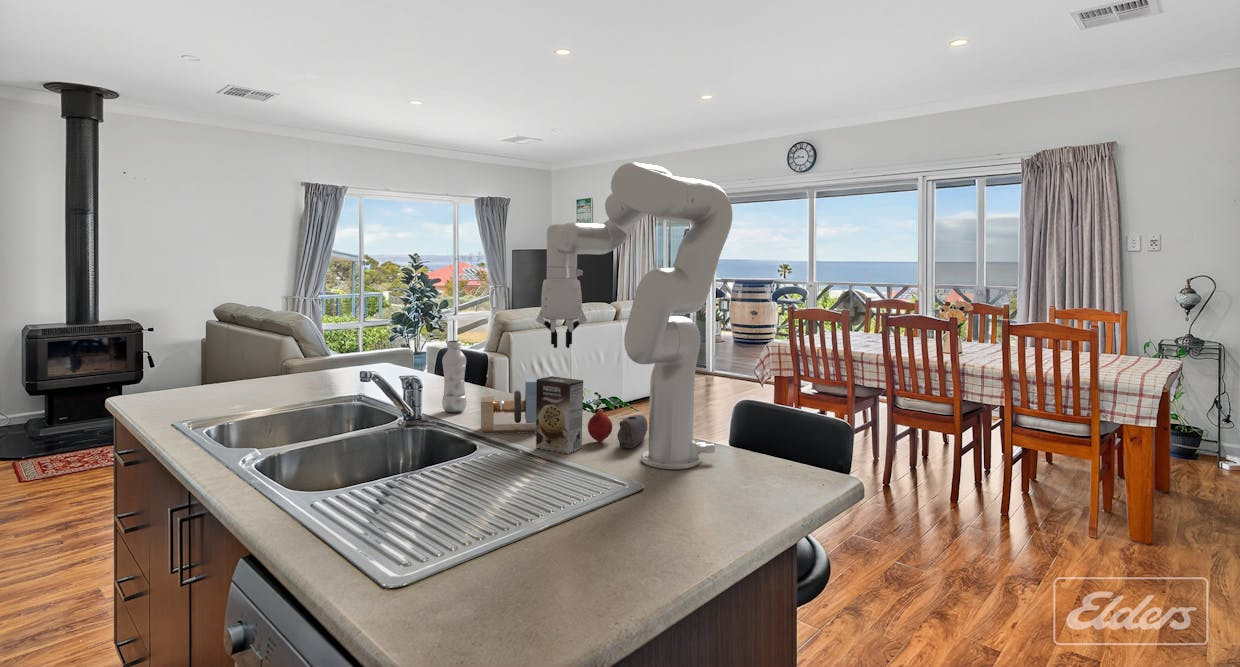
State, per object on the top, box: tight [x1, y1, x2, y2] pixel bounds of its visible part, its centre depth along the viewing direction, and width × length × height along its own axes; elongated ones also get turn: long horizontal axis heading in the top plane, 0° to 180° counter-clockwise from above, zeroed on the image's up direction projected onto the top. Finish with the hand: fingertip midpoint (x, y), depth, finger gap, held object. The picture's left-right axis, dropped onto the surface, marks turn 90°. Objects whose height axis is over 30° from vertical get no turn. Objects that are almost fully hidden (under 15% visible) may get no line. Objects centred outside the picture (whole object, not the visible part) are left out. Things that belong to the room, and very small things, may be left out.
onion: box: [587, 408, 613, 443], centre depth 161 cm, size 6×6×8 cm
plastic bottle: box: [441, 340, 467, 414], centre depth 189 cm, size 6×7×20 cm
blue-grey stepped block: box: [524, 379, 537, 424], centre depth 171 cm, size 4×7×10 cm, turn 10°
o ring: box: [513, 390, 522, 424], centre depth 171 cm, size 2×8×8 cm, turn 10°
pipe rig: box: [480, 396, 536, 434], centre depth 171 cm, size 17×6×8 cm, turn 100°
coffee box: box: [535, 375, 584, 455], centre depth 154 cm, size 9×6×16 cm
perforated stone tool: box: [617, 414, 649, 449], centre depth 160 cm, size 15×5×7 cm, turn 159°
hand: (561, 346), depth 171 cm, fingers closed
